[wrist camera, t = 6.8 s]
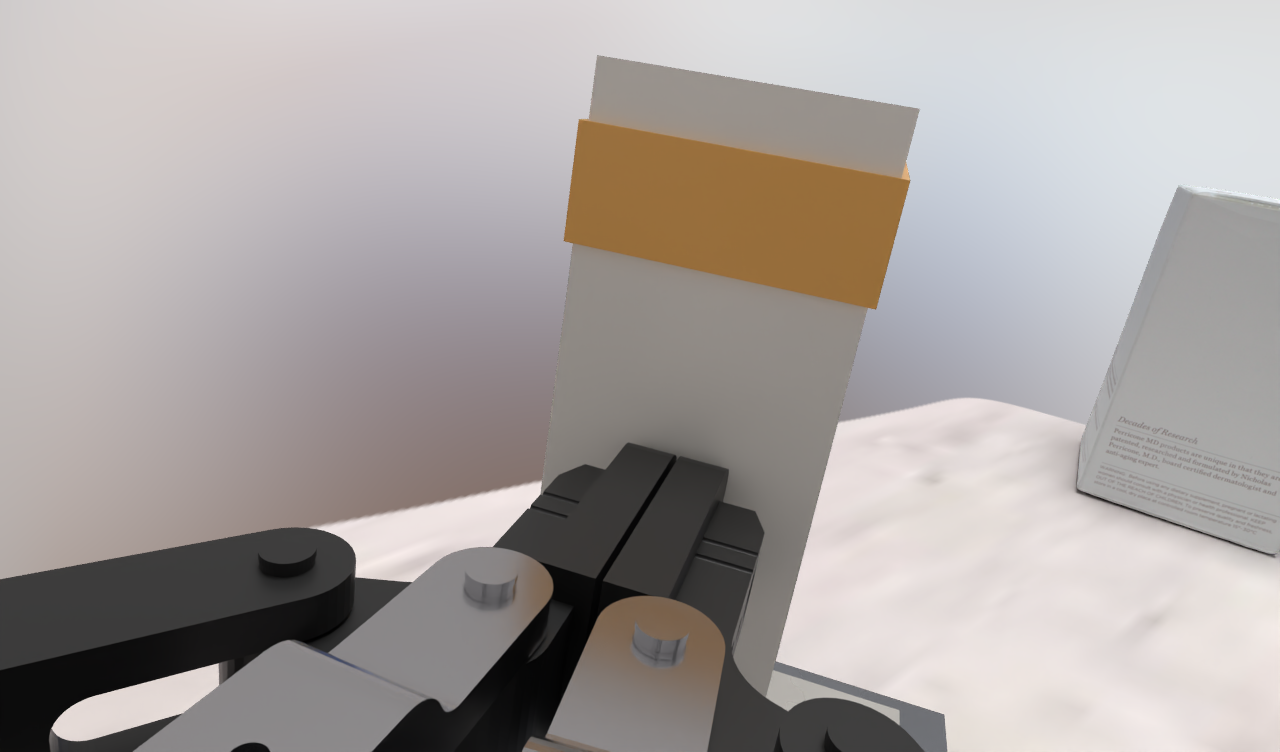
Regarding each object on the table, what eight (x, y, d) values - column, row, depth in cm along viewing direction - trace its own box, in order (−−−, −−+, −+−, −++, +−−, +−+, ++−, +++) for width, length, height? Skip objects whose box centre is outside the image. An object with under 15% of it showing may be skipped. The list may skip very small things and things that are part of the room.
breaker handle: (579, 638, 18) (669, 68, 14) (765, 698, 18) (918, 109, 13) (496, 778, 15) (587, 53, 10) (728, 865, 14) (928, 110, 10)
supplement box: (1282, 562, 31) (1446, 231, 27) (1070, 492, 34) (1187, 185, 30) (1256, 493, 38) (1385, 215, 33) (1078, 439, 41) (1176, 178, 36)
